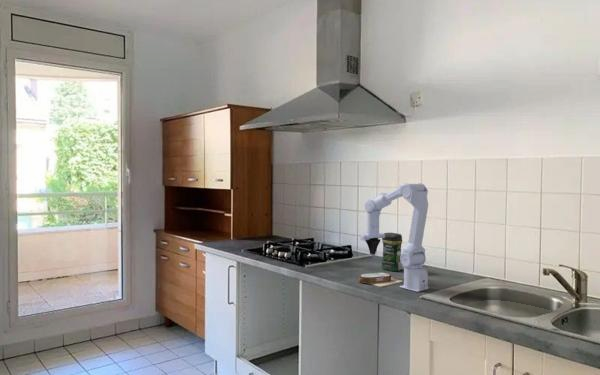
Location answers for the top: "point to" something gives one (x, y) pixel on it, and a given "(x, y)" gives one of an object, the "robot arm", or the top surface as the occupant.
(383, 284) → the birch board
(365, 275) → the orange-brown flat oval
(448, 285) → the top surface
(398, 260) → the coffee jar
